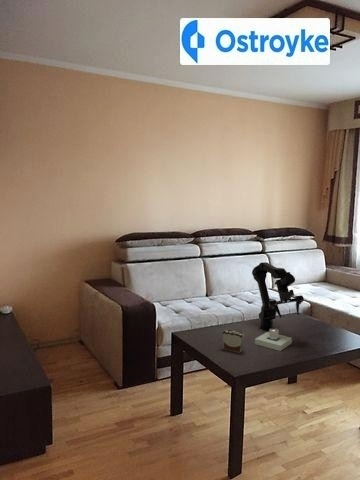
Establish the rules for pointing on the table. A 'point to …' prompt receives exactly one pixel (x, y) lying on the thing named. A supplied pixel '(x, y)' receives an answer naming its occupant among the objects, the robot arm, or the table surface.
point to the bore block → (273, 342)
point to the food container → (232, 340)
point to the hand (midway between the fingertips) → (289, 316)
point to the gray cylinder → (273, 334)
